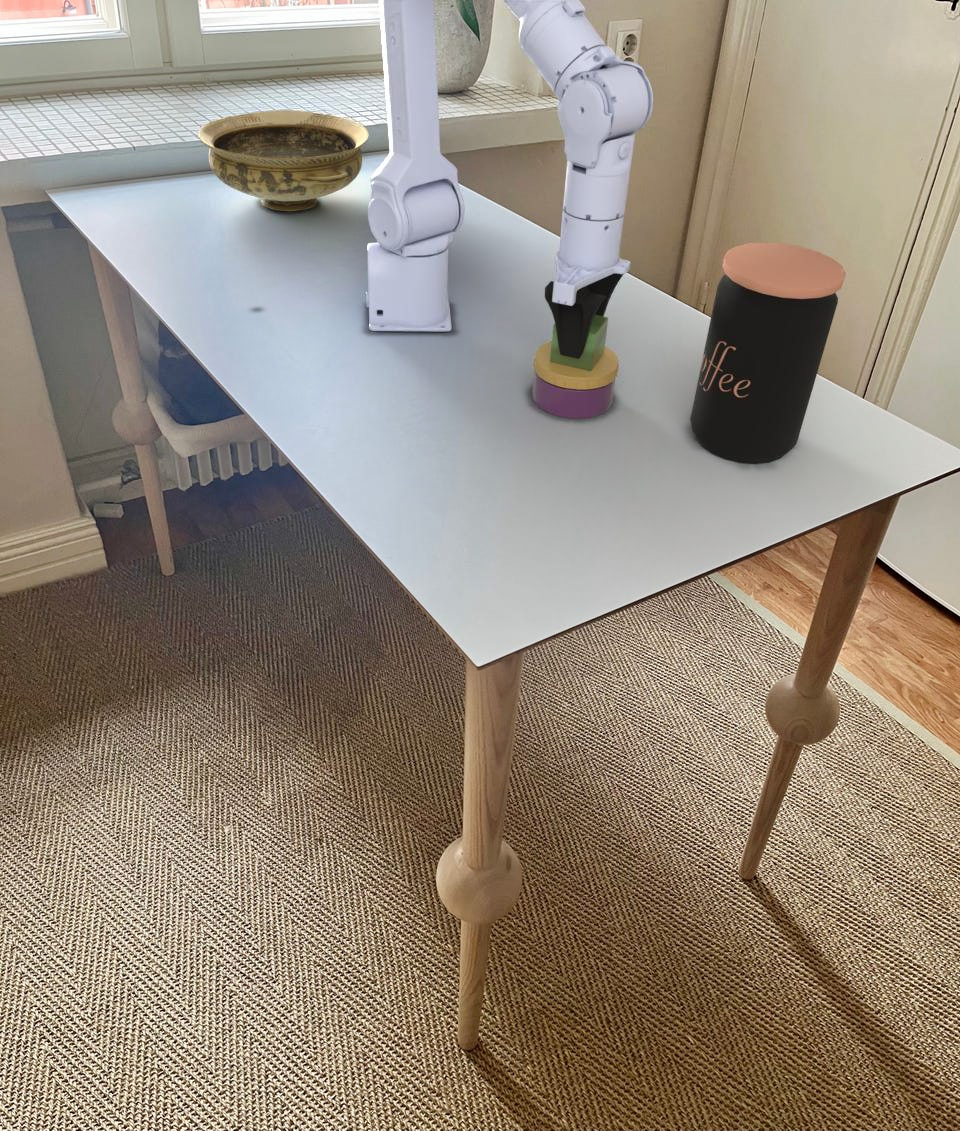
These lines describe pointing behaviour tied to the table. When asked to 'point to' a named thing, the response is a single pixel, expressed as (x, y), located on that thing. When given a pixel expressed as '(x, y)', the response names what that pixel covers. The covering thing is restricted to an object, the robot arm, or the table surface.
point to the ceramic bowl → (285, 155)
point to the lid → (575, 370)
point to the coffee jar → (764, 350)
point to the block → (591, 350)
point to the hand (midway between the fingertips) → (578, 345)
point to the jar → (572, 399)
